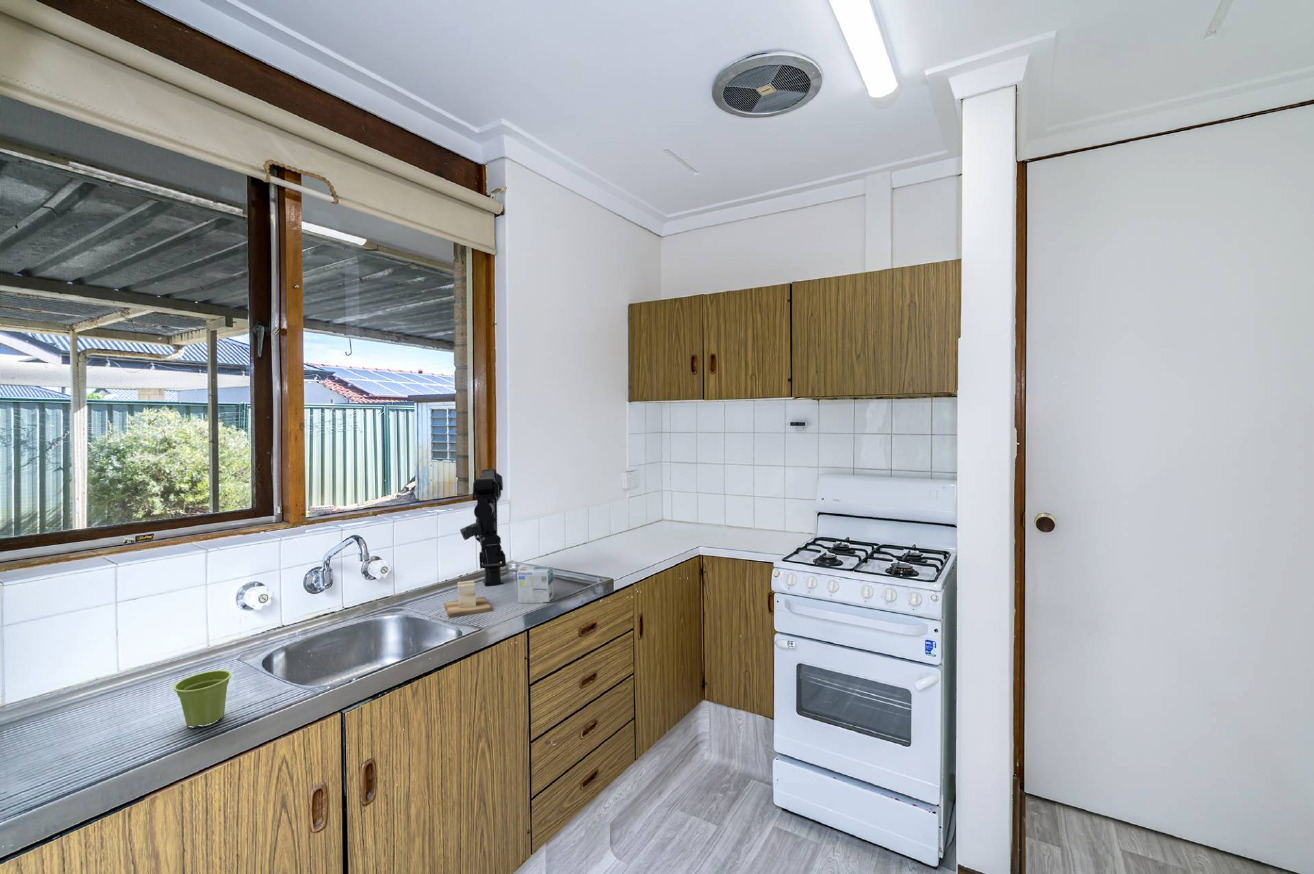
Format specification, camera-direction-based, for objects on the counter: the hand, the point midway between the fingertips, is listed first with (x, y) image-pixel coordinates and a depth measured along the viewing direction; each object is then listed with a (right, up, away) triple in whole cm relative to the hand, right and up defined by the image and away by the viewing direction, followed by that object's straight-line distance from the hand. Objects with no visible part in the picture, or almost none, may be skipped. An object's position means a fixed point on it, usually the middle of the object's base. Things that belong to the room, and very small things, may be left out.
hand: (487, 560), depth 200 cm
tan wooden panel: (-3, -14, -11) cm, 18 cm away
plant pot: (-35, -16, -79) cm, 88 cm away
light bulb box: (+17, -13, -4) cm, 22 cm away
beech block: (-3, -12, -11) cm, 17 cm away
